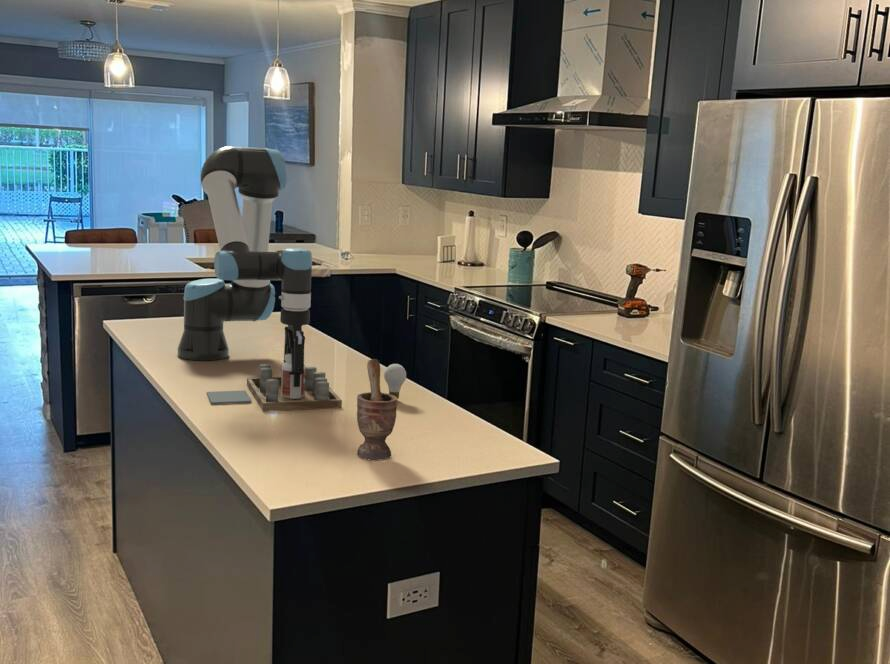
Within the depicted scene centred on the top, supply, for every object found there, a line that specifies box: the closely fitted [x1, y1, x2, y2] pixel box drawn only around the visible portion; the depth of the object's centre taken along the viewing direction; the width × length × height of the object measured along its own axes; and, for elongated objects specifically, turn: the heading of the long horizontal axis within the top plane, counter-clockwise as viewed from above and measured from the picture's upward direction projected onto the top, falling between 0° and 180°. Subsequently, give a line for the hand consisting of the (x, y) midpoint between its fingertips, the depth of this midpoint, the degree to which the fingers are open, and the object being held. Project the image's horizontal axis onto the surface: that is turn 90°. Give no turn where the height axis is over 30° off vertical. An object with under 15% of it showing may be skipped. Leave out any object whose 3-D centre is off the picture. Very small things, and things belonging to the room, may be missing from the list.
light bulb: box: [383, 363, 407, 400], centre depth 232 cm, size 6×6×10 cm
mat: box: [206, 390, 253, 406], centre depth 225 cm, size 10×10×1 cm
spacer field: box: [246, 363, 343, 412], centre depth 230 cm, size 25×20×6 cm
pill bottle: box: [280, 354, 306, 399], centre depth 230 cm, size 6×6×11 cm
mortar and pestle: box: [356, 358, 398, 461], centre depth 189 cm, size 12×9×20 cm
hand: (292, 394), depth 231 cm, fingers closed on pill bottle, 6 cm apart
